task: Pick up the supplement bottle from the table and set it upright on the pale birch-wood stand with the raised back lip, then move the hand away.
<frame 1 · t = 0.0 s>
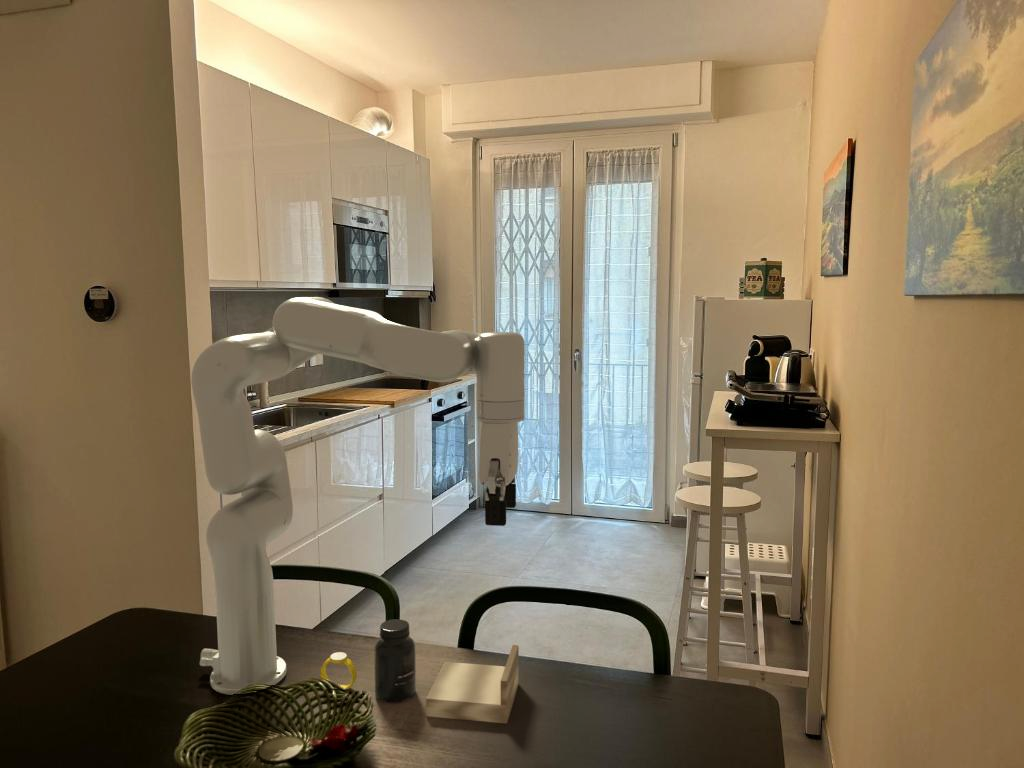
hand: (501, 515, 120), 31 cm above the table, tool pointing down, fingers open, 9 cm apart
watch: (339, 689, 127), on the table
supplement bottle: (395, 694, 125), on the table
birch stand: (474, 699, 123), on the table
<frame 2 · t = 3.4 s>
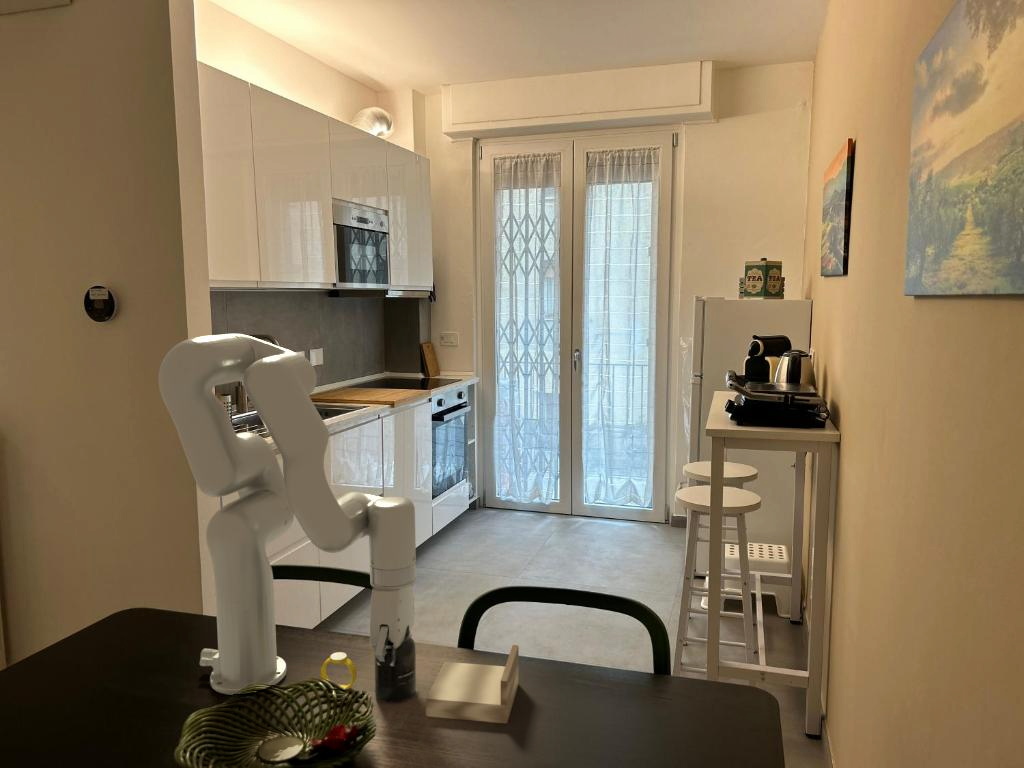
hand: (395, 674, 125), 3 cm above the table, tool pointing down, fingers closed on supplement bottle, 6 cm apart
supplement bottle: (395, 694, 125), on the table, touching gripper
everything else where it was.
when the fingers open (8 cm above the table, at t = 8.9 s): supplement bottle drops 1 cm, resting on birch stand.
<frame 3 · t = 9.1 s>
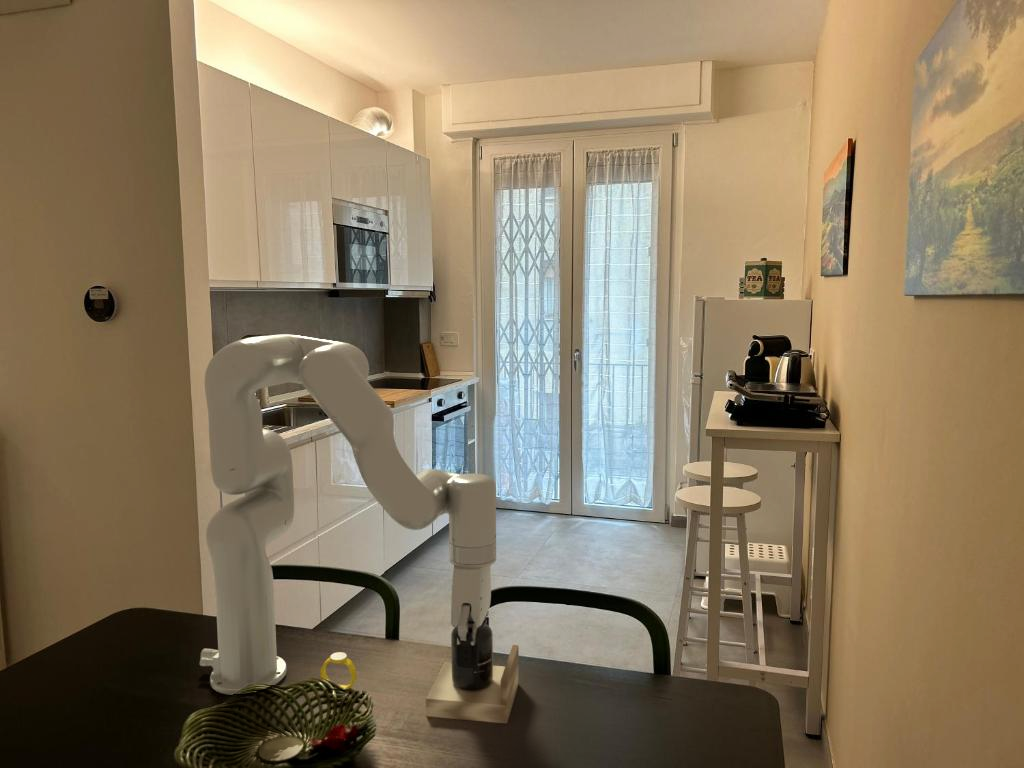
hand: (473, 652, 122), 8 cm above the table, tool pointing down, fingers open, 9 cm apart
supplement bottle: (472, 682, 123), point 3 cm above the table, touching birch stand
everything else where it was.
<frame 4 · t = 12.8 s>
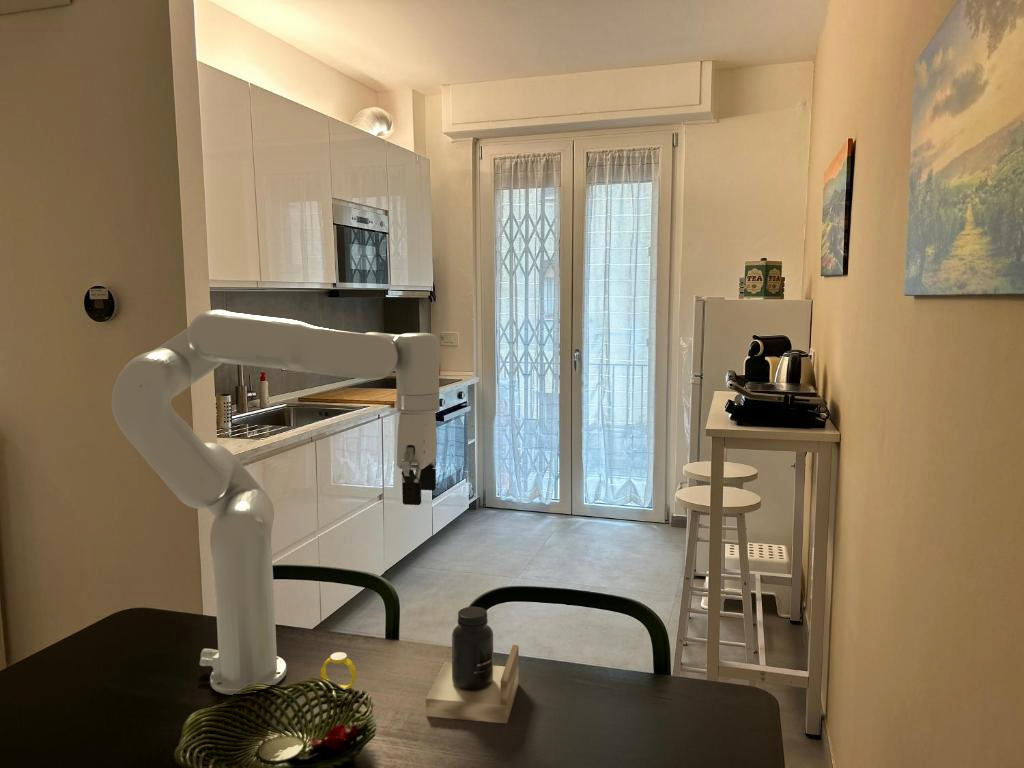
hand: (419, 496, 134), 30 cm above the table, tool pointing down, fingers open, 9 cm apart
nothing on the table moved.
at the end: supplement bottle inside the target area on the birch stand (0.3 cm from its centre), point 2.8 cm above the birch stand's base; supplement bottle tilted 0°; the gripper is holding nothing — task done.
